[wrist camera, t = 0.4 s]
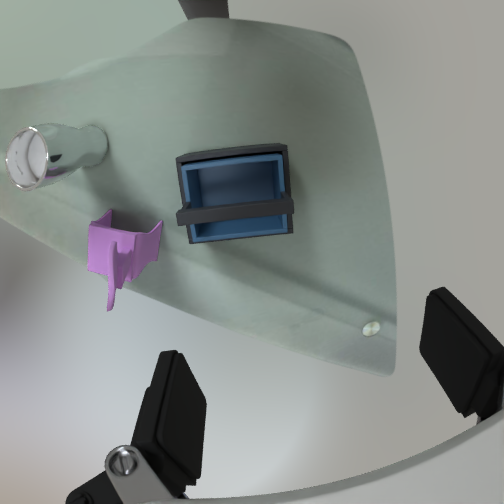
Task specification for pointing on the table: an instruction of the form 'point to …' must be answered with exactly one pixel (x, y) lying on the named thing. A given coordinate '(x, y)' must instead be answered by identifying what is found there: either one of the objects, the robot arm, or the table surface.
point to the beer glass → (52, 153)
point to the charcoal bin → (229, 152)
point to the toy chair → (120, 252)
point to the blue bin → (235, 196)
